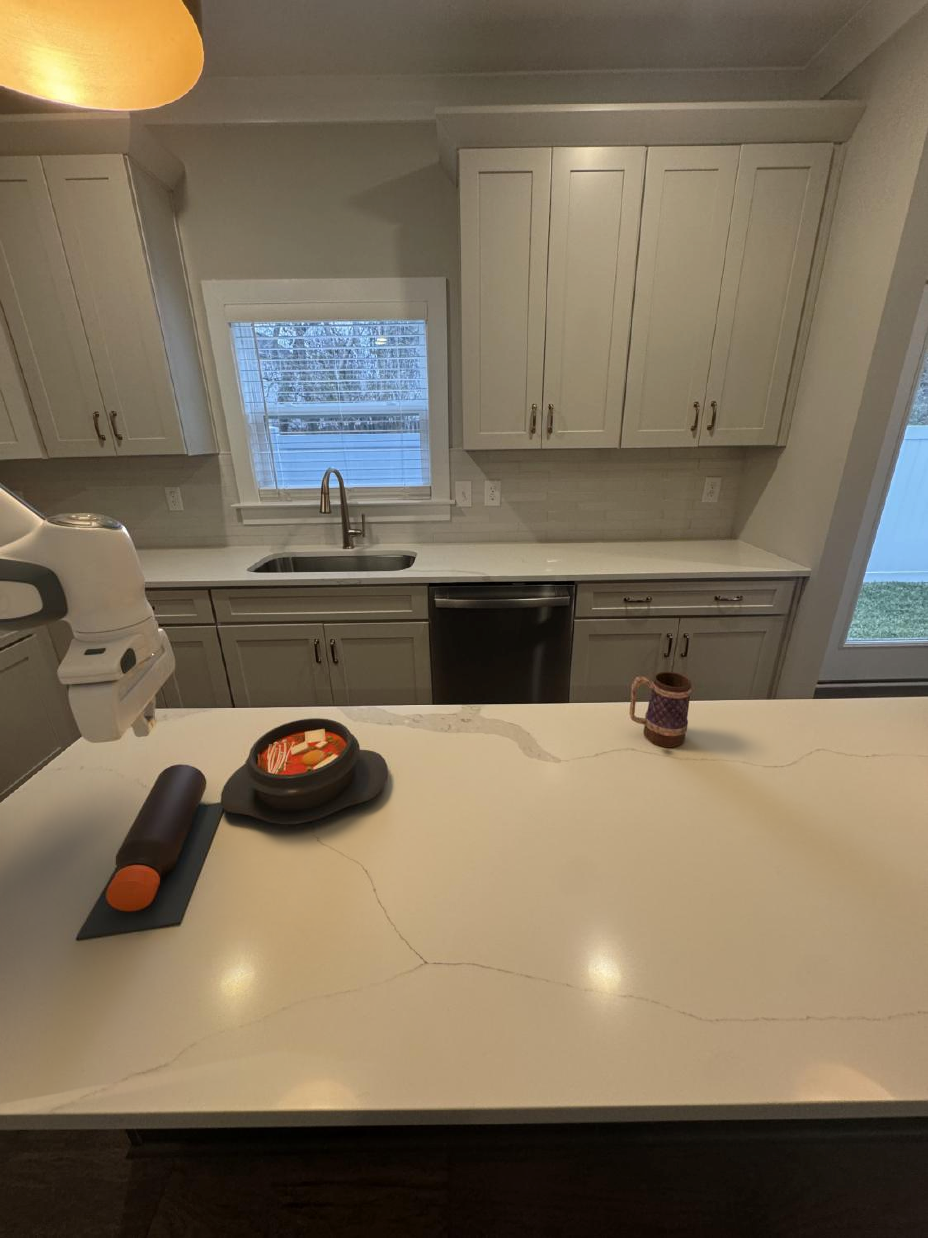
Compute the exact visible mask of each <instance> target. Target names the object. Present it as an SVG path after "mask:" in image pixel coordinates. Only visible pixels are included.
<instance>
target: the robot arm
mask: <svg viewBox="0 0 928 1238" xmlns="http://www.w3.org/2000/svg"><path fill="white" fill-rule="evenodd" d="M143 571H144V570H143V568H142V565H141V561H140V557H139V555H138V552H137V549H136V547H135V544H134V542H133V540H132V537H131V536H130V533H129V531H128V530H127V528H126V527H125V526H124V524H122V522H120V521H119V520H117V519H115V518H112V517H109V516H107V515H103V514H98V513H90V512H76V513H74V512H73V513H72V512H68V513H66V512H65V513H58V514H55V515H52V516H48V517H47V516H46V515H45V514H43V513H41V512H40V511H39V510H37V509H35V508H34V507H33V506H32V505H30V504H29V503H27V502H26V501H25V500H24V499H22V498H21V497H20V496H18V495H17V494H16V493H14V492H13V491H12V490H11V489H9V487H6V486H5V485H4V484H2V483H1V482H0V631H2V632H20V631H25V630H30V629H34V628H39V627H43V626H46V625H50V624H53V623H57V622H59V621H60V622H61V621H65V622H66V623H68V624H69V626H70V628H71V631H72V634H73V638H72V639H71V641H70V645H69V648H68V650H67V652H66V654H65V656H64V658H63V659H62V661H61V662H60V664H59V665H58V668H57V670H56V671H57V673H56V674H57V678H58V680H59V682H60V684H62V685H69V688H68V692H67V694H68V695H67V696H68V697H67V698H68V702H69V706H70V709H71V712H72V715H73V718H74V720H75V723H76V726H77V728H78V731H79V733H80V735H81V737H82V738H83V739H84V740H85V741H86V742H89V743H91V744H98V743H108V742H116V741H119V740H120V739H121V738H123V737H124V735H125V734H126V733H127V731H128V730H129V728H130V727H131V728H132V731H133V735H134V736H135V737H137V738H141V737H148V736H150V733H151V732H152V731H153V729H154V728H155V727H156V725H157V723H158V720H157V717H156V704H157V703H156V701H157V698H156V694H157V693H158V692H159V690H160V689H161V688H162V687H163V685H164V684H165V683H166V682H167V680H168V679H169V677H171V675H172V674H173V673H174V671H175V670H176V658H175V654H174V651H173V646H172V645H171V642H170V640H169V637H168V635H167V632H166V631H165V630H164V629H163V628H160V627H159V624H158V621H157V619H156V617H155V613H154V609H153V607H152V605H151V604H150V602H149V601H148V599H147V596H146V577H145V575H144V572H143Z"/></svg>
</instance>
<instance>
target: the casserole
mask: <svg viewBox="0 0 928 1238" xmlns="http://www.w3.org/2000/svg"><path fill="white" fill-rule="evenodd" d="M388 774H389V769H388V764H387V762H386V759H385V758H384V757H383V756H382V755H381V754H380V753H378V752H376V751H374V750H370V749H361V748H360V743H359V740H358V739H357V738H356V736H355V735H354V734H352V733H351V731H350V730H349V728H348V727H347V726H346V725H344V724H343V723H341V722H339V721H336V720H332V719H329V718H320V717H317V718H316V717H315V718H313V717H312V718H301V719H298V720H293V721H290V722H287V723H284V724H283V723H282V724H281V725H279V726H276V727H274V728H272V729H271V730H269V731H267V732H265V733H264V734H263V735H262V736H260V737H259V738H258V739H257V740H256V741H255V742H254V743H253V745H252V747H251V748H250V750H249V753H248V756H247V759H246V760H245V762H244V763H243V764H242V765H241V766H240V767H239V768H238V769H236V770H235V771H234V772H233V773H232V774H231V776H230V777H229V778H228V779H227V781H226V782H225V784H224V785H223V787H222V791H221V793H220V802H221V804H222V807H223V808H224V811H226V812H228V813H233V814H238V815H245V816H246V815H247V816H250V817H253V818H256V819H259V820H262V821H265V822H268V823H272V824H279V825H296V824H302V823H308V822H312V821H316V820H318V819H319V820H320V819H322V818H324V817H327V816H329V815H331V814H333V813H336V812H338V811H340V810H343V809H344V808H347V807H351V806H353V805H358V804H361V803H364V802H367V801H370V800H371V799H373V798H374V797H376V796H377V795H378V794H380V792H381V791H382V789H383V788H384V786H385V784H386V782H387V780H388Z"/></svg>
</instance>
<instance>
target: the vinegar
mask: <svg viewBox="0 0 928 1238" xmlns="http://www.w3.org/2000/svg"><path fill="white" fill-rule="evenodd" d="M206 789H207V778H206V776H205V774H204V773H203V772H202V770H200V769H198V768H197V767H195V766H193V765H190V764H181V763H179V764H174V765H173V764H172V765H170V766H168V767H166V768H165V769H163V770H162V771H161V772H160V773H159V774H158V776H157V778H156V780H155V782H154V784H153V786H152V787H151V789H150V791H149V793H148V795H147V797H146V798H145V801H144V802H143V804H142V806H141V808H140V809H139V812H138V813H137V815H136V817H135V820H134V821H133V823H132V825H131V827H130V828H129V830H128V832H127V834H126V836H125V838H124V839H123V842H122V843H121V845H120V847H119V848H118V851H117V852H116V854H115V866H116V867H117V868H118V872H117V873H116V874H115V876H114V878H113V880H112V882H111V884H110V886H109V888H108V890H107V892H106V899H107V900H108V901H107V902H108V903H109V904H110V905H111V906H113V907H114V908H116V909H118V910H123V911H137V910H140V909H142V908H144V907H146V906H147V905H149V904H150V903H151V902H152V901H153V898H154V896H155V894H156V891H157V889H158V886H159V884H160V880H161V878H163V877H165V876H167V875H168V874H169V873H170V872H171V871H172V870H173V869H174V867H175V865H176V863H177V861H178V858H179V855H180V853H181V850H182V848H183V845H184V843H185V840H186V838H187V835H188V832H189V830H190V827H191V825H192V822H193V820H194V817H195V815H196V812H197V810H198V807H199V805H201V802H202V799H203V796H204V794H205V792H206Z"/></svg>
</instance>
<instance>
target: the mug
mask: <svg viewBox="0 0 928 1238" xmlns="http://www.w3.org/2000/svg"><path fill="white" fill-rule="evenodd" d="M642 684H646V685H647V687H648V688H649V689H650V695H649V699H648V704H647V705H648V706H647V710H646V712H645V715H644V717H639V716H636V715H635V713H636V712H635V711H636V702H637V690H638V688H639V686H641V685H642ZM630 687H631V692H630V693H631V694H630V695H631V696H630V704H629V714H628V715H629V717H630V719H631V721H632V722H634V723H636V724H639V725H644V726H643V735H644V737H645V738H646V739H647V740H648V741H649V742H650V743H652V744H655V745H656V746H659V747H663V748H675V747H679V746H681V745H683V744H684V742H685V740H686V733H687V730H688V726H689V720H688V716H689V715H688V714H689V706H690V698H691V694H692V681H691V680H690V679H689V678H688V676H686V675H683V674H681V673H680V672H679V673H678V672H675V671H661V672H658V673H656V674H654V676H653V679H652V682H651V680H650V679H649V678H647V677H645V676H641V675H639V676H638V677H635V678H634V680H633V682H632V684H631V686H630Z"/></svg>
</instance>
